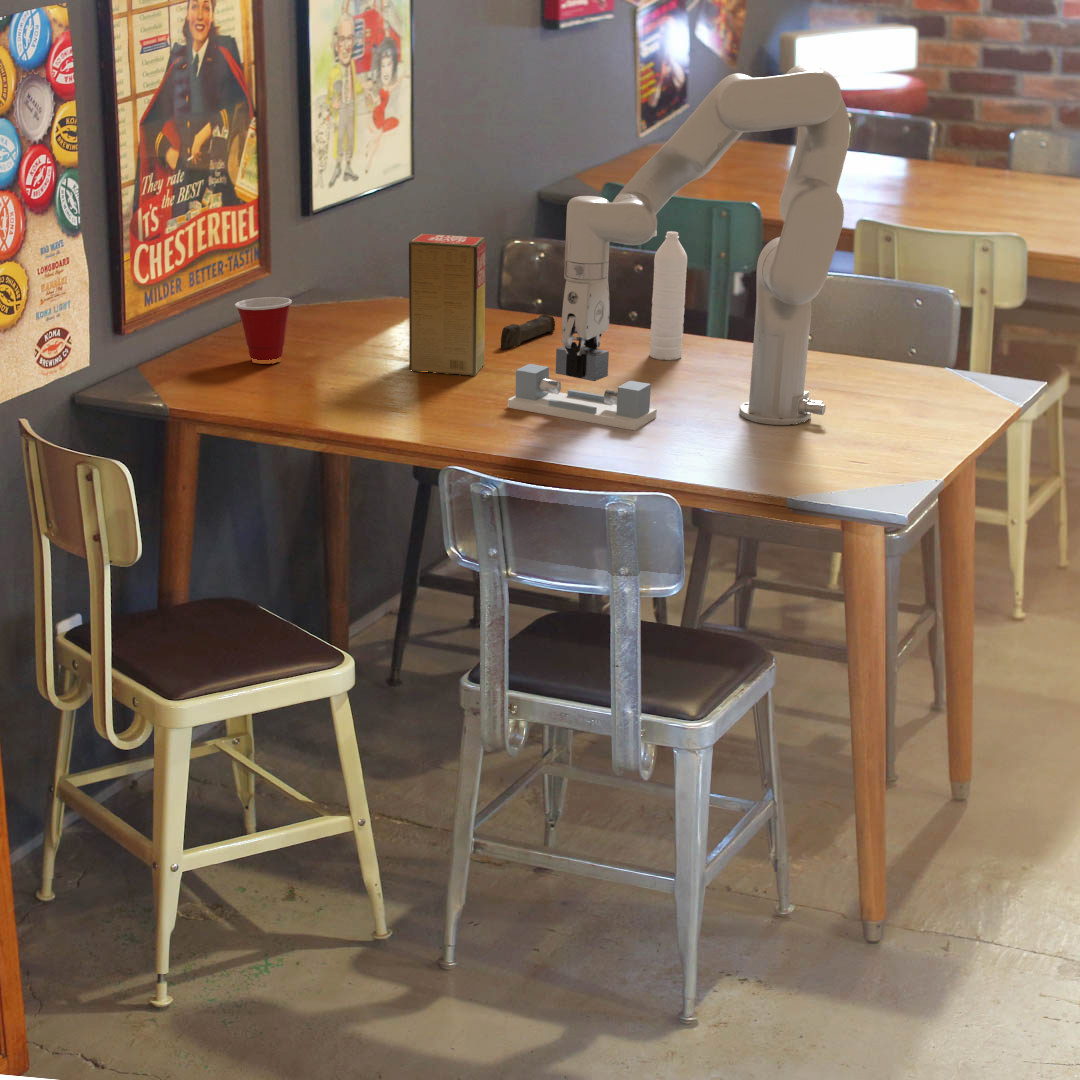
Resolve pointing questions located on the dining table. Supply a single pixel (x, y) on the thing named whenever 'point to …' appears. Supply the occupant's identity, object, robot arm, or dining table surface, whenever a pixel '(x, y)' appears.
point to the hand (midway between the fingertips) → (581, 371)
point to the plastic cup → (264, 325)
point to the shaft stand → (582, 400)
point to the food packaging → (447, 304)
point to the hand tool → (526, 331)
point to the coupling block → (586, 363)
